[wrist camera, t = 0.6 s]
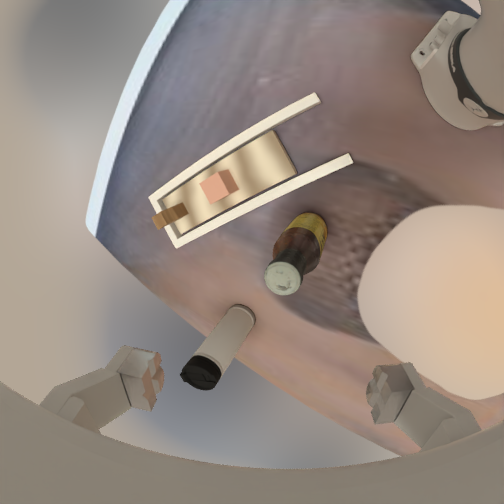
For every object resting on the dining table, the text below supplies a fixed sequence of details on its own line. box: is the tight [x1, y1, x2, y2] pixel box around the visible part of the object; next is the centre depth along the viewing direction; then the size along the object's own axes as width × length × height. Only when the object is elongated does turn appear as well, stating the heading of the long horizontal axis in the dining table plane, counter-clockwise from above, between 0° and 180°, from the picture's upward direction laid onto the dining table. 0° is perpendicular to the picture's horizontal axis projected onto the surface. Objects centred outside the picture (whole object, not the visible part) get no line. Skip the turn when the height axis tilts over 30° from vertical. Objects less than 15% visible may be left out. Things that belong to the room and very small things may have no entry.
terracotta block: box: [199, 169, 239, 205], centre depth 45 cm, size 4×4×4 cm
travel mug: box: [180, 305, 255, 390], centre depth 50 cm, size 6×7×20 cm
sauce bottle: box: [264, 213, 327, 295], centre depth 37 cm, size 6×6×20 cm
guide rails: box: [149, 92, 353, 249], centre depth 46 cm, size 38×12×2 cm, turn 120°
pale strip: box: [152, 130, 297, 234], centre depth 45 cm, size 26×8×8 cm, turn 120°
